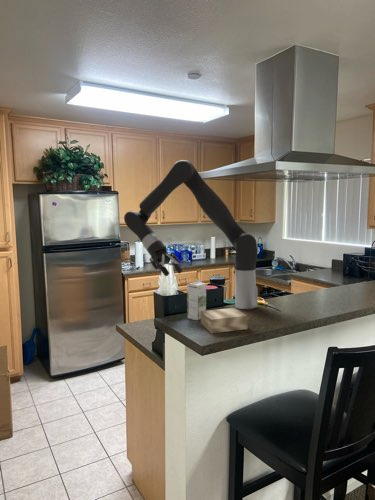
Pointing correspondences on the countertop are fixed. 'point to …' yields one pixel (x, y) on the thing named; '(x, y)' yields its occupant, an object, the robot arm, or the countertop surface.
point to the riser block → (223, 320)
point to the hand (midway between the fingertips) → (174, 273)
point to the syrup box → (196, 300)
